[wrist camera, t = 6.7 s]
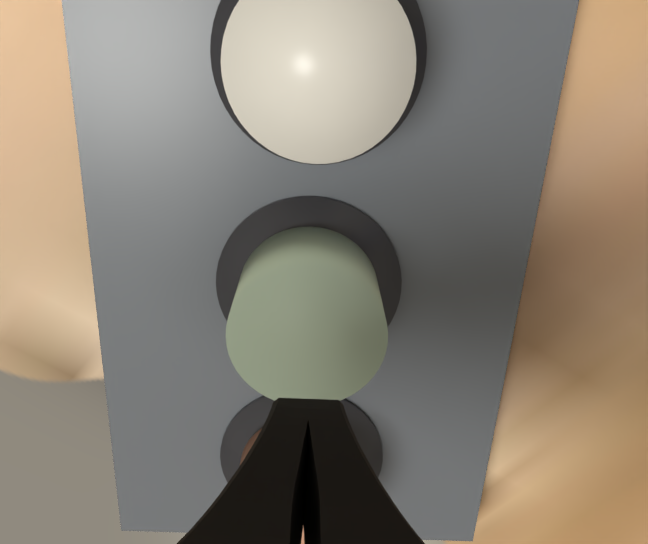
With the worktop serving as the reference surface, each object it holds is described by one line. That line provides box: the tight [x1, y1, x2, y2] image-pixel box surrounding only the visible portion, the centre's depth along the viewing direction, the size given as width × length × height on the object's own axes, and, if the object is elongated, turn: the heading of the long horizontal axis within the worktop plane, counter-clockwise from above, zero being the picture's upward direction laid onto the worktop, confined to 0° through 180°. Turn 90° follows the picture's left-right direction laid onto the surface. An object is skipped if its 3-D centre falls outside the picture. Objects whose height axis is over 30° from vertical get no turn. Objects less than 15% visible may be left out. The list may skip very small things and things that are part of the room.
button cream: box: [221, 0, 416, 164], centre depth 15 cm, size 4×4×3 cm
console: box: [62, 0, 579, 541], centre depth 20 cm, size 14×22×2 cm, turn 177°
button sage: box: [226, 227, 388, 401], centre depth 18 cm, size 4×4×3 cm
